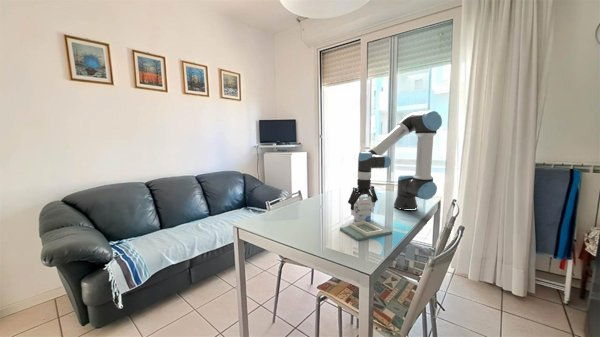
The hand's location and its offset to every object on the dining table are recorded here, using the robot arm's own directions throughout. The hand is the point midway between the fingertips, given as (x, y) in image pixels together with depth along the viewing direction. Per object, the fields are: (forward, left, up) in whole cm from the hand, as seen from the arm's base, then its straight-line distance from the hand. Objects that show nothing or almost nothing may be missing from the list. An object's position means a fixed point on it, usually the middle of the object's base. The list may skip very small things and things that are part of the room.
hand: (362, 213), depth 147 cm
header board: (+10, +15, -4) cm, 18 cm away
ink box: (0, 0, -4) cm, 4 cm away
